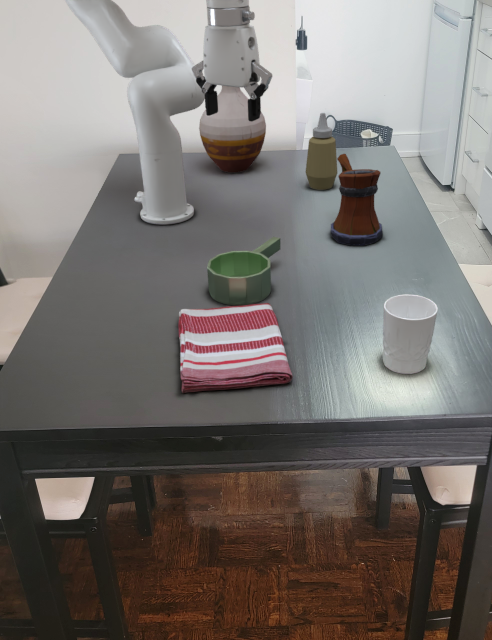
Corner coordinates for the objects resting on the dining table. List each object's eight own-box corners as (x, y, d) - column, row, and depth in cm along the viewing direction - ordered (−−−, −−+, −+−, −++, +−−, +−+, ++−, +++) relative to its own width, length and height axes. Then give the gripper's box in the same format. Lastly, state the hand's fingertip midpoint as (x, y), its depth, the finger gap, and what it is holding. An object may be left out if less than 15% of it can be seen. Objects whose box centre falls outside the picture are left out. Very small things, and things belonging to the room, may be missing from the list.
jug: (185, 167, 192) (174, 49, 175) (233, 153, 202) (228, 40, 185) (231, 183, 180) (224, 58, 163) (280, 167, 190) (279, 48, 173)
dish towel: (181, 395, 103) (179, 380, 101) (178, 318, 122) (177, 304, 121) (293, 385, 104) (293, 370, 103) (273, 310, 123) (273, 297, 122)
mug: (315, 218, 159) (317, 152, 150) (364, 213, 160) (367, 148, 152) (337, 249, 144) (340, 178, 136) (390, 243, 146) (396, 173, 137)
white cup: (374, 350, 111) (378, 295, 106) (422, 347, 112) (429, 292, 106) (385, 378, 105) (391, 321, 99) (436, 374, 105) (444, 317, 100)
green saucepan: (249, 311, 123) (248, 283, 120) (197, 296, 129) (195, 269, 125) (302, 269, 137) (302, 242, 134) (253, 257, 142) (252, 231, 139)
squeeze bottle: (342, 184, 177) (345, 111, 167) (327, 194, 171) (330, 119, 161) (314, 179, 181) (316, 107, 171) (299, 188, 175) (300, 115, 165)
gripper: (280, 17, 122) (281, 117, 132) (201, 12, 130) (207, 107, 139) (258, 23, 117) (261, 127, 127) (177, 18, 125) (185, 116, 134)
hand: (233, 116), depth 133 cm, fingers open, 9 cm apart
